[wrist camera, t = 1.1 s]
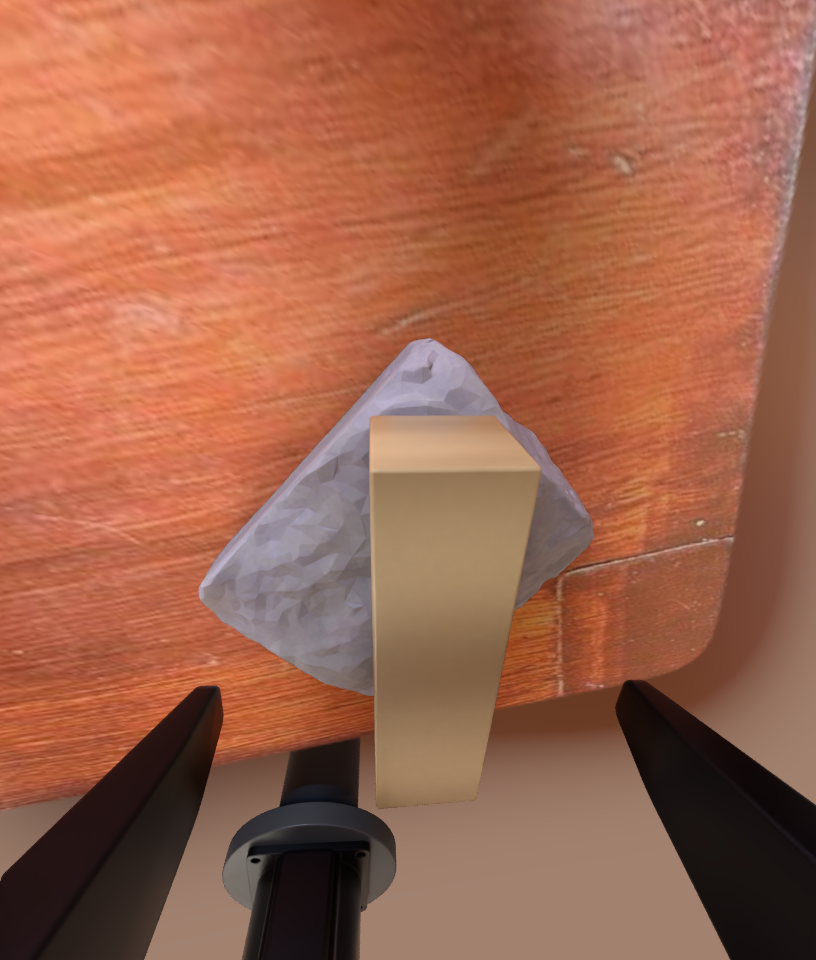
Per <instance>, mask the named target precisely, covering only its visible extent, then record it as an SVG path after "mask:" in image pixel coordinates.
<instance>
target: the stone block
mask: <svg viewBox="0 0 816 960" xmlns="http://www.w3.org/2000/svg"><path fill="white" fill-rule="evenodd" d="M371 416H495V417H496V418H497V419H498V420H499V421H500V422H501V423H502V425H503V426H504V427H505V428H506V429H507V430H508V431H509V432H510V433H511V434H512V435H513V437H514V438H515V439H516V440H517V441H518V442H519V443H520V444H521V445H522V446H523V448H524V449H525V450H526V451H527V452H528V453H529V454H530V455H531V456H532V457H533V458H534V460H535V461H536V462H537V463H538V464H539V465H540V466H541V468H542V473H541V478H540V483H539V488H538V493H537V498H536V503H535V508H534V513H533V518H532V523H531V528H530V533H529V538H528V543H527V548H526V553H525V558H524V563H523V568H522V573H521V578H520V583H519V588H518V593H517V598H516V603H515V608H514V610H516V609H517V608H520V607H522V606H523V605H524V604H525V603H526V602H527V601H528V600H529V599H530V598H531V597H532V596H533V595H534V594H535V593H536V592H537V591H538V590H539V589H540V587H541V586H542V584H543V583H544V582H545V581H547V580H548V579H550V578H554V577H556V576H557V575H558V574H559V573H560V572H562V571H563V570H564V569H565V568H566V567H567V566H568V565H569V564H571V563H572V562H573V561H574V560H575V559H576V558H577V557H578V556H579V555H580V554H581V553H582V552H583V551H584V550H585V549H586V548H587V547H589V545H590V542H591V541H592V540H593V539H594V533H593V530H594V529H593V522H592V520H591V517H590V516H589V514H588V512H587V511H586V510H585V507H584V505H583V504H582V502H581V500H580V498H579V497H578V495H577V493H576V492H575V491H574V490H573V488H572V487H571V486H570V484H569V482H568V481H567V480H566V479H565V477H564V476H563V474H562V472H561V471H560V469H559V468H558V467H557V466H556V465H555V464H554V463H553V462H552V460H551V459H550V457H549V454H548V451H547V449H546V448H545V447H544V446H543V445H542V444H541V443H540V441H539V440H538V438H537V436H536V435H535V433H534V432H532V431H531V430H529V429H528V428H526V427H524V426H523V425H521V424H519V423H517V422H515V421H514V420H513V419H512V418H511V416H510V415H508V414H506V413H505V412H503V411H502V409H501V407H500V405H499V403H498V402H497V400H496V398H495V397H494V396H493V394H492V393H491V392H490V390H489V389H488V388H487V387H486V385H485V384H484V383H483V382H482V381H481V379H480V378H479V376H478V374H477V372H476V371H475V370H474V369H473V367H472V366H471V365H470V364H469V363H468V362H467V361H466V360H465V359H464V358H463V357H462V356H461V355H459V354H457V353H454V352H453V351H451V350H449V349H447V348H446V347H444V346H443V345H442V344H440V343H439V342H437V341H435V340H433V339H431V338H428V339H420V340H416V341H413V342H410V343H409V344H408V345H407V346H406V347H405V348H404V349H403V350H402V351H401V352H400V353H399V355H398V356H397V357H396V358H395V359H394V360H393V361H392V362H391V364H390V365H389V366H388V367H387V368H386V369H385V370H384V371H383V372H382V373H381V374H380V376H379V377H378V378H377V379H376V380H375V381H374V382H373V383H372V385H371V386H370V387H369V388H368V389H367V390H366V391H365V392H364V394H363V395H362V396H361V397H360V398H359V399H358V400H357V401H356V403H355V404H354V405H353V406H352V407H351V408H350V409H349V410H348V411H347V412H346V414H345V415H344V416H343V417H342V418H341V419H340V420H339V421H338V422H337V424H336V425H335V426H334V427H333V428H332V429H331V430H330V431H329V432H328V434H327V435H326V436H325V437H324V438H323V439H322V440H321V441H320V442H319V443H318V444H317V446H316V447H315V448H314V449H313V450H312V451H311V452H310V453H309V455H308V456H307V457H306V458H305V459H304V460H303V461H302V462H301V464H300V465H299V466H298V467H297V468H296V469H295V470H294V471H293V472H292V473H291V475H290V476H289V477H288V478H287V479H286V481H285V482H284V483H283V484H282V485H281V486H280V487H279V488H278V489H277V491H276V492H275V493H274V494H273V495H272V496H271V497H270V498H269V499H268V501H267V502H266V503H265V504H264V505H263V506H262V507H261V508H260V509H259V510H258V511H257V512H256V513H255V514H254V515H253V516H252V518H251V519H250V520H249V521H248V523H246V524H245V525H244V526H243V527H242V529H241V530H240V531H239V532H238V533H237V534H236V535H235V536H234V537H233V538H232V539H231V540H230V542H229V543H228V544H227V545H226V546H225V548H224V549H223V550H222V552H221V553H220V555H219V556H218V557H217V558H216V559H215V561H214V562H213V563H212V565H211V568H210V570H209V571H208V573H207V574H206V576H205V578H204V580H203V581H202V583H201V585H200V586H199V598H200V600H201V601H202V603H204V604H205V605H206V606H207V607H208V608H209V609H211V610H212V611H213V612H214V613H215V614H216V616H217V617H218V618H219V619H220V620H221V621H223V622H224V623H225V624H227V625H229V626H231V627H234V628H235V629H236V630H237V631H239V632H240V633H241V634H243V635H244V636H245V637H247V638H249V639H251V640H253V641H255V642H257V643H259V644H261V645H263V646H264V647H265V648H267V649H268V650H269V651H271V652H272V653H274V654H276V655H277V656H279V657H280V658H282V659H283V660H285V661H287V662H289V663H291V664H292V665H294V666H296V667H297V668H299V669H300V670H302V671H303V672H305V673H306V674H309V675H311V676H312V677H314V678H316V679H318V680H319V681H321V682H323V683H325V684H327V685H332V686H336V687H339V688H343V689H346V690H350V691H355V692H358V693H360V694H363V695H368V696H374V680H373V632H372V583H371V535H370V487H369V433H370V417H371Z"/></svg>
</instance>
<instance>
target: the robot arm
mask: <svg viewBox="0 0 816 960" xmlns="http://www.w3.org/2000/svg"><path fill="white" fill-rule="evenodd" d="M615 709H616V715H617V718H618V721H619V723H620V726H621V728H622V731H623V733H624V736H625V738H626V741H627V743H628V745H629V748H630V751H631V753H632V756H633V758H634V761H635V763H636V766H637V768H638V771H639V773H640V776H641V778H642V781H643V783H644V785H645V788H646V790H647V792H648V794H649V796H650V799H651V801H652V803H653V805H654V807H655V809H656V811H657V813H658V815H659V817H660V819H661V821H662V823H663V825H664V827H665V829H666V831H667V833H668V835H669V837H670V839H671V841H672V843H673V845H674V847H675V849H676V851H677V853H678V855H679V857H680V859H681V861H682V863H683V865H684V867H685V869H686V871H687V874H688V876H689V878H690V880H691V882H692V884H693V885H694V888H695V890H696V892H697V893H698V896H699V898H700V900H701V902H702V904H703V906H704V908H705V910H706V912H707V914H708V916H709V918H710V920H711V922H712V924H713V926H714V928H715V930H716V932H717V934H718V936H719V938H720V940H721V942H722V944H723V946H724V948H725V950H726V952H727V954H728V956H729V958H730V960H816V805H815V804H814V803H812V802H811V801H810V800H808V799H807V798H805V797H804V796H803V795H801V794H800V793H798V792H797V791H796V790H794V789H793V788H792V787H790V786H789V785H788V784H786V783H785V782H783V781H782V780H781V779H779V778H778V777H777V776H775V775H774V774H772V773H771V772H770V771H768V770H767V769H766V768H764V767H763V766H761V765H760V764H759V763H757V762H756V761H755V760H753V759H752V758H751V757H749V756H748V755H746V754H745V753H744V752H742V751H741V750H740V749H738V748H737V747H735V746H734V745H733V744H731V743H730V742H729V741H727V740H726V739H724V738H723V737H721V736H720V735H719V734H718V733H716V732H715V731H713V730H712V729H711V728H709V727H708V726H707V725H705V724H704V723H703V722H701V721H699V720H698V719H697V718H696V717H694V716H693V715H691V714H690V713H689V712H687V711H686V710H685V709H683V708H682V707H681V706H679V705H678V704H676V703H675V702H674V701H672V700H671V699H670V698H668V697H667V696H666V695H664V694H663V693H661V692H660V691H658V690H657V689H656V688H655V687H653V686H652V685H650V684H649V683H648V682H646V681H643V680H627V681H625V682H624V684H623V686H622V689H621V691H620V694H619V697H618V699H617V703H616V707H615ZM222 723H223V706H222V699H221V692H220V688H219V687H218V686H199V687H197V688H195V689H194V690H193V691H192V692H191V693H190V694H189V695H188V696H187V697H186V698H185V699H184V700H183V701H182V702H181V703H180V704H179V705H178V706H177V707H175V708H174V709H173V710H172V711H171V712H170V713H169V714H168V715H167V716H166V717H165V718H164V719H163V720H162V721H161V722H160V723H159V724H158V725H157V726H156V727H155V728H154V729H153V730H152V731H151V732H150V733H149V734H148V735H147V736H146V737H144V738H143V739H142V740H141V741H140V742H139V743H138V744H137V745H136V746H135V747H134V748H133V749H132V750H131V751H130V752H129V753H128V754H127V755H126V756H125V757H124V758H123V759H122V760H121V761H120V762H119V763H118V764H117V765H116V766H115V767H114V768H112V769H111V770H110V771H109V772H108V773H107V774H106V775H105V776H104V777H103V778H102V779H101V780H100V781H99V782H98V783H97V784H96V785H95V786H94V787H93V788H92V789H91V790H90V791H89V792H88V793H87V794H86V795H85V796H84V797H83V798H82V799H80V800H79V801H78V802H77V803H76V804H75V805H74V806H73V807H72V808H71V809H70V810H69V811H68V812H67V813H66V814H65V815H64V816H63V817H62V818H61V819H60V820H59V821H58V822H57V823H56V824H55V825H54V826H53V827H52V828H51V829H49V831H47V832H46V833H45V834H44V835H43V836H42V837H41V838H40V839H39V840H38V841H37V842H36V843H35V844H34V845H33V846H32V847H31V848H30V849H29V850H28V851H27V852H26V853H25V854H24V855H23V856H22V857H21V858H20V859H19V860H18V861H17V862H15V863H14V864H13V865H12V866H11V867H10V868H9V869H8V870H7V871H6V872H5V873H4V874H3V876H2V877H1V881H0V960H144V958H145V956H146V953H147V950H148V947H149V945H150V942H151V939H152V937H153V934H154V931H155V929H156V926H157V923H158V921H159V918H160V915H161V912H162V910H163V907H164V904H165V902H166V899H167V896H168V894H169V891H170V888H171V886H172V883H173V880H174V877H175V875H176V872H177V869H178V867H179V864H180V861H181V859H182V855H183V853H184V850H185V847H186V845H187V842H188V840H189V837H190V834H191V832H192V829H193V826H194V823H195V820H196V817H197V815H198V811H199V808H200V805H201V801H202V798H203V794H204V791H205V787H206V783H207V779H208V776H209V772H210V768H211V765H212V761H213V757H214V753H215V750H216V746H217V742H218V739H219V735H220V731H221V728H222ZM369 866H370V843H369V842H367V841H362V840H361V841H342V842H322V843H303V844H283V845H264V846H253V847H251V848H250V849H249V850H248V854H247V858H246V867H247V874H248V881H249V887H250V894H251V901H252V913H251V918H250V923H249V927H248V932H247V937H246V941H245V947H244V951H243V956H242V960H359V958H360V916H361V915H360V914H361V912H362V911H364V910H366V908H367V897H368V882H369Z"/></svg>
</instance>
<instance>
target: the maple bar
mask: <svg viewBox="0 0 816 960" xmlns="http://www.w3.org/2000/svg"><path fill="white" fill-rule="evenodd" d="M541 473H542V468H541V466H540V465H539V464H538V463H537V462H536V461H535V460H534V458H533V457H532V456H531V455H530V454H529V453H528V452H527V451H526V450H525V449H524V448H523V446H522V445H521V444H520V443H519V442H518V441H517V440H516V439H515V438H514V437H513V435H512V434H511V433H510V432H509V431H508V430H507V429H506V428H505V427H504V426H503V425H502V423H501V422H500V421H499V420H498V419H497V418H496V417H495V416H371V417H370V433H369V487H370V535H371V583H372V632H373V680H374V728H375V775H376V776H375V777H376V807H377V808H378V809H384V808H395V807H406V806H418V805H429V804H440V803H451V802H463V801H474V800H476V799H477V794H478V789H479V783H480V778H481V774H482V769H483V763H484V758H485V753H486V749H487V744H488V739H489V734H490V728H491V724H492V719H493V718H492V717H493V714H494V709H495V704H496V699H497V694H498V689H499V684H500V679H501V674H502V669H503V664H504V658H505V653H506V648H507V643H508V638H509V633H510V628H511V623H512V618H513V613H514V608H515V603H516V598H517V593H518V588H519V583H520V578H521V573H522V568H523V563H524V558H525V553H526V548H527V543H528V538H529V533H530V528H531V523H532V518H533V513H534V508H535V503H536V498H537V493H538V488H539V483H540V478H541Z"/></svg>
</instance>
